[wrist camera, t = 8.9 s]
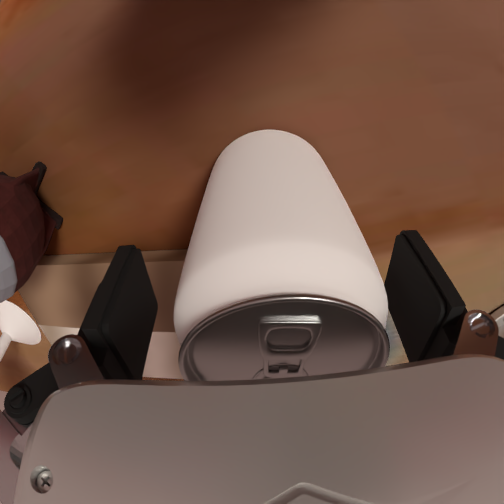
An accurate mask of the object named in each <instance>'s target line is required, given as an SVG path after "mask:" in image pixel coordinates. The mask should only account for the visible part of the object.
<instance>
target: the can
mask: <svg viewBox="0 0 504 504" xmlns="http://www.w3.org/2000/svg"><path fill="white" fill-rule="evenodd" d="M387 314H388V300H387V294H386V290H385V287H384V283H383V281H382V278H381V276H380V273H379V271H378V268H377V266H376V263H375V261H374V259H373V257H372V254H371V252H370V250H369V248H368V246H367V244H366V241H365V239H364V237H363V235H362V233H361V231H360V229H359V227H358V225H357V223H356V221H355V219H354V217H353V215H352V213H351V211H350V209H349V207H348V205H347V203H346V201H345V199H344V197H343V195H342V194H341V192H340V190H339V188H338V186H337V184H336V182H335V181H334V179H333V177H332V175H331V173H330V172H329V170H328V168H327V166H326V165H325V163H324V161H323V160H322V158H321V156H320V155H319V154H318V152H317V151H316V150H315V149H314V148H313V147H312V146H311V145H310V144H309V143H308V142H306V141H305V140H304V139H302V138H300V137H298V136H296V135H294V134H291V133H288V132H285V131H280V130H260V131H255V132H251V133H248V134H246V135H243V136H241V137H239V138H238V139H236V140H235V141H233V142H232V143H231V144H229V145H228V146H227V147H226V148H225V149H224V150H223V152H222V153H221V154H220V156H219V157H218V159H217V160H216V162H215V164H214V167H213V169H212V172H211V175H210V178H209V181H208V184H207V187H206V190H205V193H204V197H203V200H202V203H201V206H200V209H199V213H198V216H197V219H196V223H195V226H194V230H193V233H192V236H191V240H190V244H189V247H188V251H187V254H186V258H185V262H184V265H183V269H182V273H181V277H180V281H179V285H178V289H177V294H176V299H175V305H174V326H175V331H176V335H177V338H178V341H179V344H180V346H181V347H180V351H179V356H178V364H179V369H180V373H181V375H182V377H183V379H184V381H229V380H256V379H274V378H289V377H301V376H312V375H322V374H332V373H341V372H349V371H357V370H364V369H371V368H378V367H385V365H386V363H387V360H388V357H389V350H390V345H389V339H388V335H387V333H386V331H385V327H386V322H387Z"/></svg>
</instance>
